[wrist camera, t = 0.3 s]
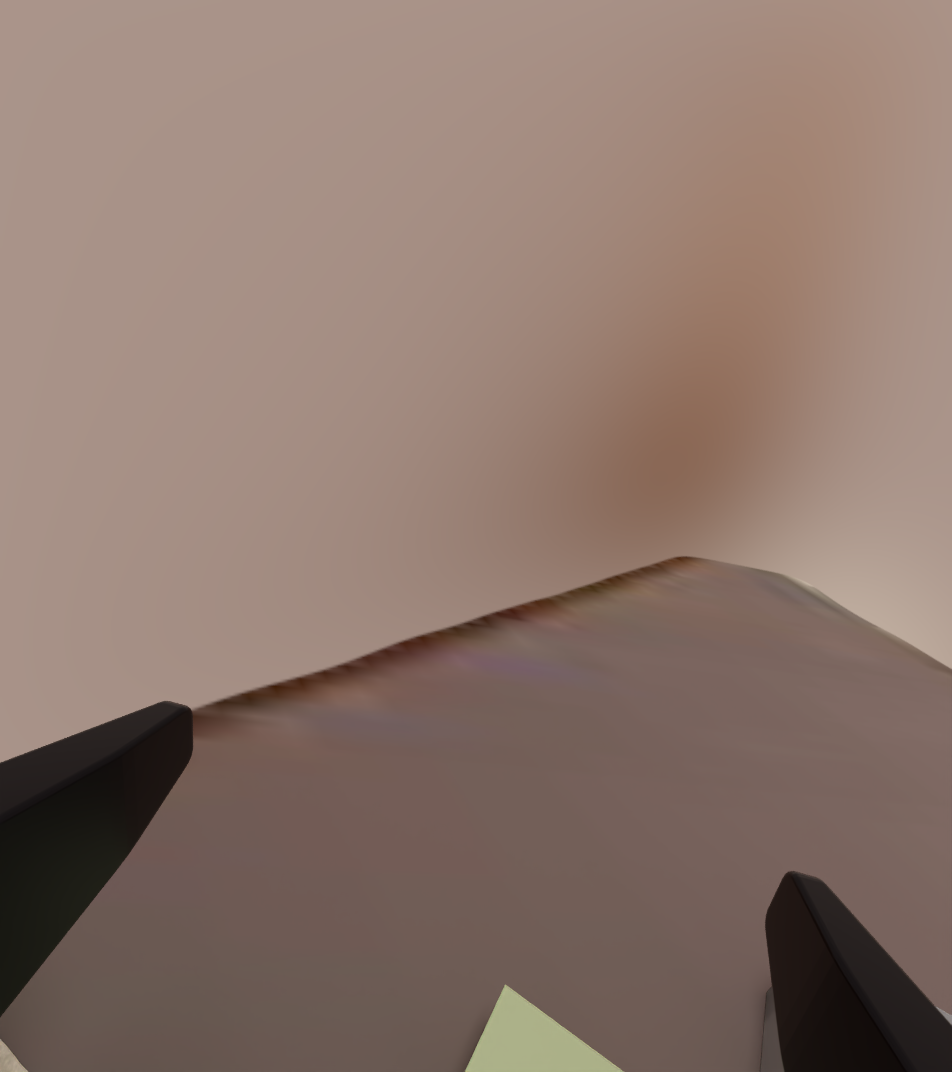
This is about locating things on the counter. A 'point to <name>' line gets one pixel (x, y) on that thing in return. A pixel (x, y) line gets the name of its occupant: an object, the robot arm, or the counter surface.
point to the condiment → (9, 1060)
